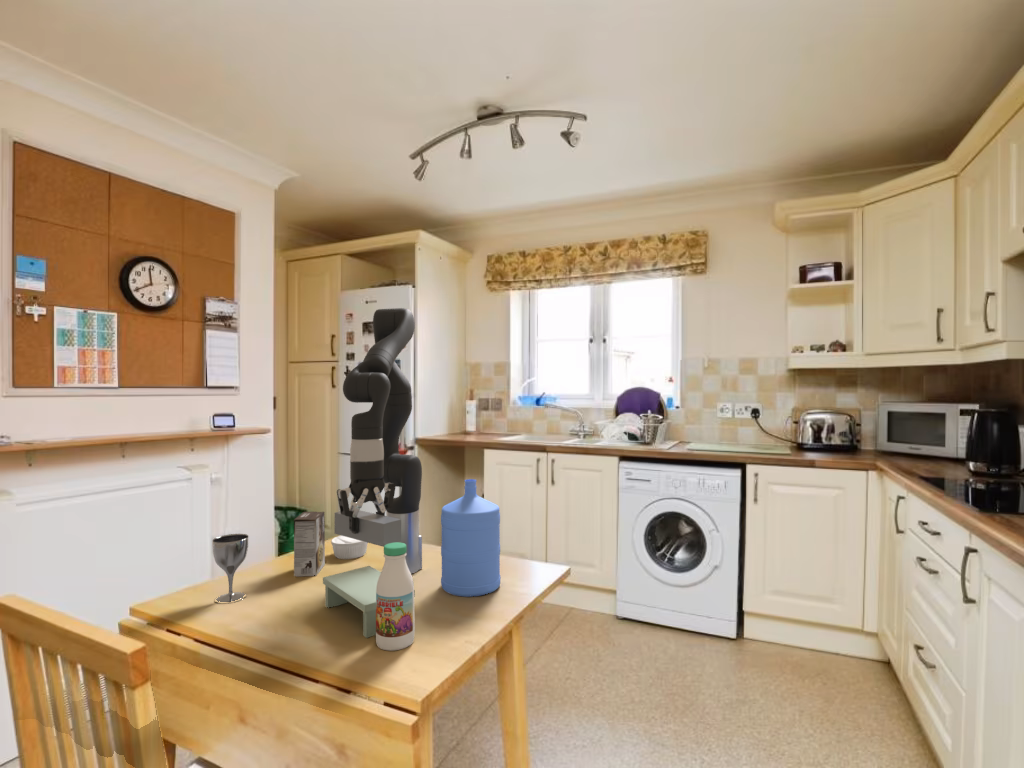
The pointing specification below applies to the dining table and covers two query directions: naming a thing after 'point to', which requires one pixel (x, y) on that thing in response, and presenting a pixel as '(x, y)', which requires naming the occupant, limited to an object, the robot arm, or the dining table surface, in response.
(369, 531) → the grey rectangular brick
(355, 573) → the sage shelf
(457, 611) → the dining table surface
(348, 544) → the ramekin
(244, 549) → the wine glass
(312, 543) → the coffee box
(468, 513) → the water jug
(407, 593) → the milk bottle
